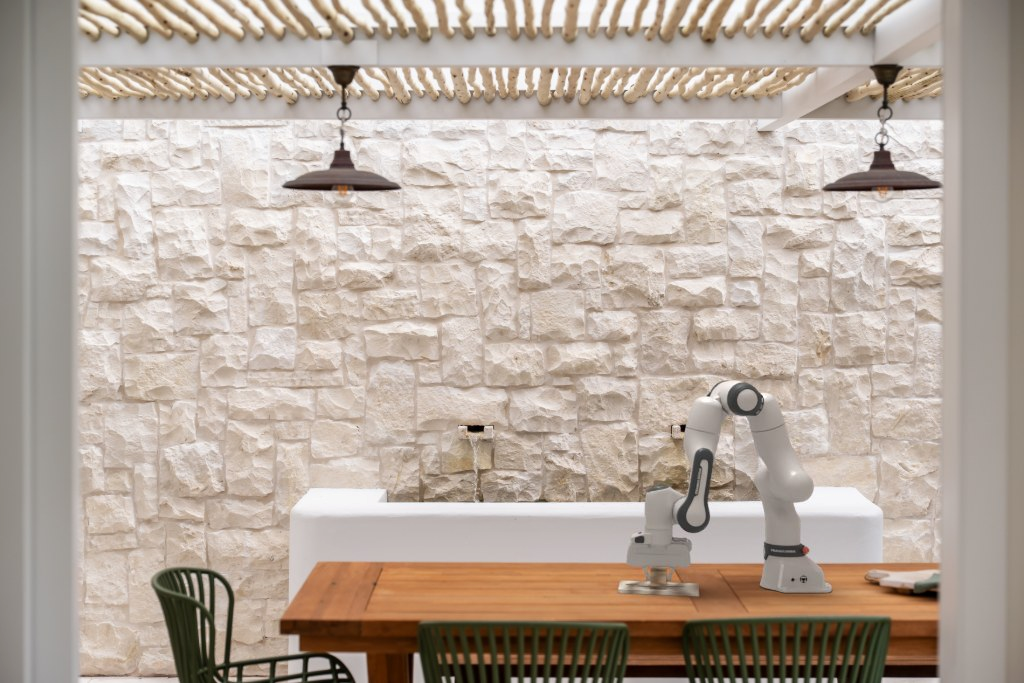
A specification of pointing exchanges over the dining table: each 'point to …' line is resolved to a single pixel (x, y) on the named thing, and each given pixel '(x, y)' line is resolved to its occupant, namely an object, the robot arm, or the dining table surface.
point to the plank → (672, 589)
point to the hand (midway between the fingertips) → (658, 580)
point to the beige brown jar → (658, 578)
